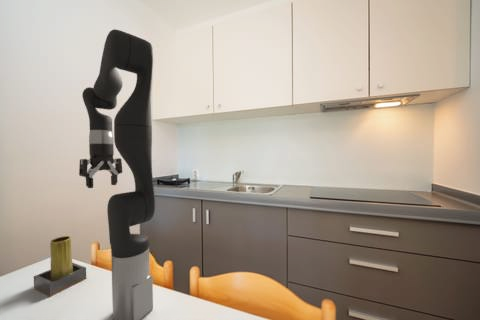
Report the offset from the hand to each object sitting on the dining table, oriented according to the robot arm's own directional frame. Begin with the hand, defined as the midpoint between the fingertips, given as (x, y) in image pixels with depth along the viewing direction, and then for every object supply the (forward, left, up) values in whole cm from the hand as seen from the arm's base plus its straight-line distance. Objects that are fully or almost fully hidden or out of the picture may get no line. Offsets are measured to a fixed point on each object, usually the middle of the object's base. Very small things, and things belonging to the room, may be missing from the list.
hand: (102, 186), depth 77 cm
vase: (+6, +11, -31) cm, 34 cm away
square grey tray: (+6, +11, -32) cm, 34 cm away
